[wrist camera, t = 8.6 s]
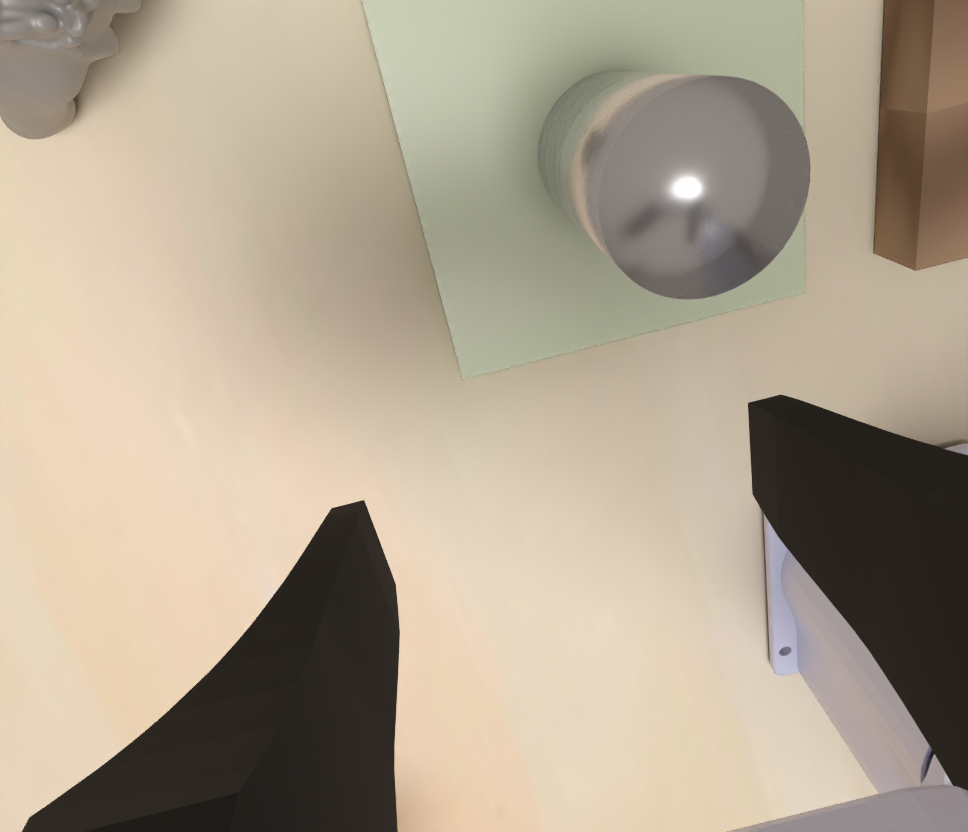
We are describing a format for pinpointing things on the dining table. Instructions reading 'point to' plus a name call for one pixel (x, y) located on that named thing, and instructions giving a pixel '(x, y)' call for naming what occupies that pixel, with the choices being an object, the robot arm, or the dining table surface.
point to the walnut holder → (923, 134)
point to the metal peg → (677, 175)
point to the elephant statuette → (51, 58)
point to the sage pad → (514, 156)
